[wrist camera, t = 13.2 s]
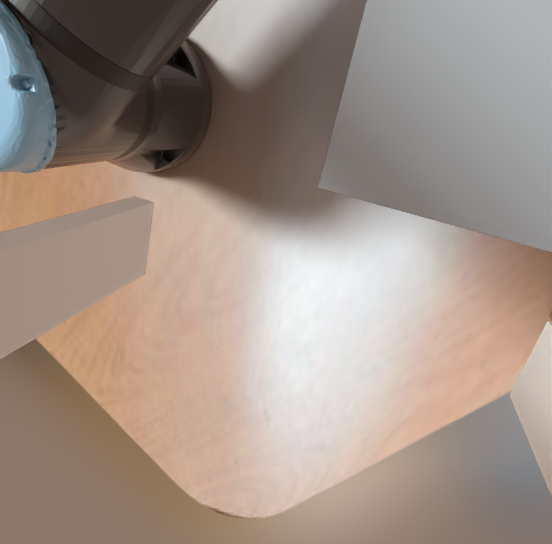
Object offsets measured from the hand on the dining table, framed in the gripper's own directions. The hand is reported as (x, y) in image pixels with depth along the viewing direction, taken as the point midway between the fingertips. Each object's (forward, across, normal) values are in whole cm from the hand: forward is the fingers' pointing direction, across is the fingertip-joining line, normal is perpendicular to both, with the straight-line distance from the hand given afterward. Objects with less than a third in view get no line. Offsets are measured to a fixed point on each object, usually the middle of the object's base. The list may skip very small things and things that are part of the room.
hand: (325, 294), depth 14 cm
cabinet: (+33, +10, +9) cm, 35 cm away
